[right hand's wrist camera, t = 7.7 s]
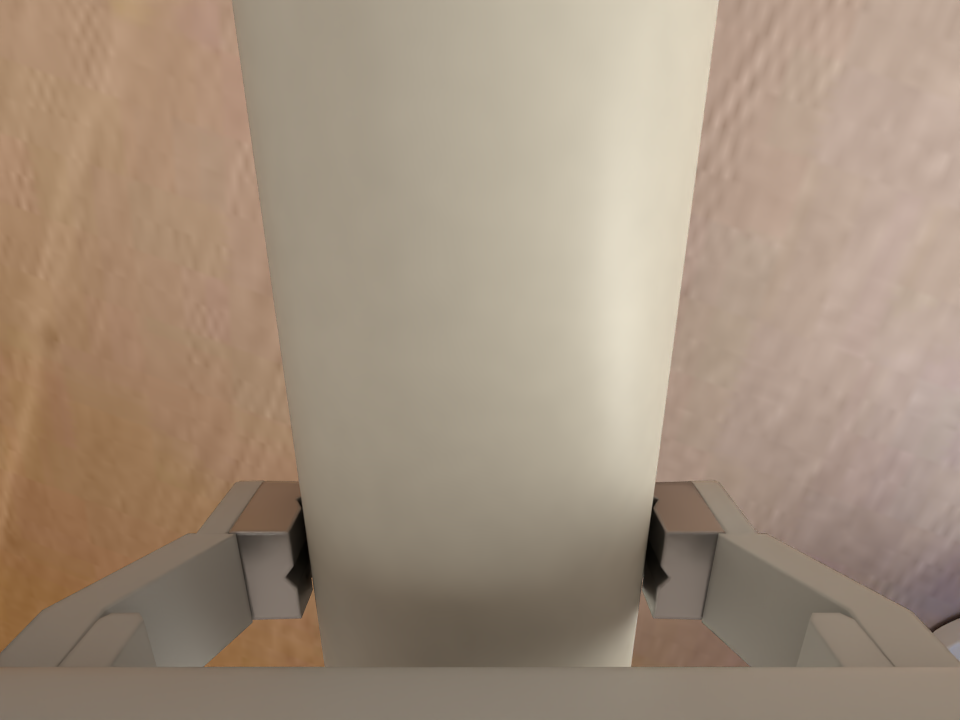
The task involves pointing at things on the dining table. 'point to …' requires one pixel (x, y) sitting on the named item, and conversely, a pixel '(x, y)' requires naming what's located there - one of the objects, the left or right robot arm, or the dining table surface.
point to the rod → (476, 308)
